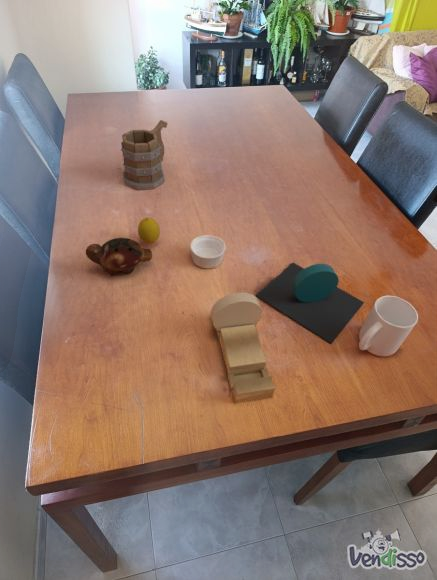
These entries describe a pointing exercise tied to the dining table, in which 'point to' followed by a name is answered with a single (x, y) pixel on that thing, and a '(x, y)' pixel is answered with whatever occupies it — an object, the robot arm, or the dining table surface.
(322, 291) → the teal disc
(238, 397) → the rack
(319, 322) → the mat
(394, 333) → the mug
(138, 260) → the brown piece
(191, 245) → the ramekin
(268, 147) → the dining table surface
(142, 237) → the lemon
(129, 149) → the tankard
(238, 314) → the cream disc
